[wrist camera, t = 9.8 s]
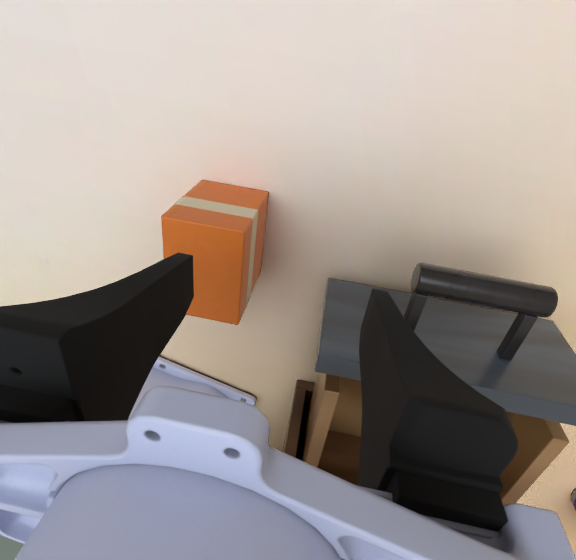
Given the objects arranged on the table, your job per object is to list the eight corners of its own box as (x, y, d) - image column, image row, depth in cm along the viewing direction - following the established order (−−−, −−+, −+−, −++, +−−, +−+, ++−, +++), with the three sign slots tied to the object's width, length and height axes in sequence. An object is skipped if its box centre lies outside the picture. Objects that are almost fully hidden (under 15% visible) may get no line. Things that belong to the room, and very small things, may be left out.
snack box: (201, 178, 22) (160, 215, 18) (269, 191, 22) (245, 231, 17) (201, 261, 25) (166, 311, 21) (260, 273, 25) (238, 326, 20)
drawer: (342, 213, 21) (336, 278, 15) (593, 258, 20) (685, 345, 14) (297, 417, 31) (283, 503, 25) (465, 453, 30) (491, 551, 24)
